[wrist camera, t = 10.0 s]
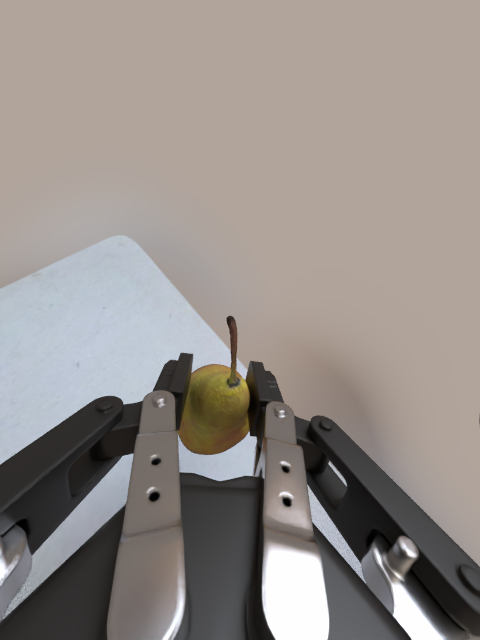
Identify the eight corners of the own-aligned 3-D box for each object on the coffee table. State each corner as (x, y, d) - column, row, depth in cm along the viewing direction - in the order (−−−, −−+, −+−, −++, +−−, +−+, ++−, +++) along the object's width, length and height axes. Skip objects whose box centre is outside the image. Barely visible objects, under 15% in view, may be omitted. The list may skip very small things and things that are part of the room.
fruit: (158, 420, 17) (93, 420, 6) (206, 360, 19) (219, 285, 9) (217, 467, 16) (259, 559, 6) (259, 399, 19) (343, 373, 8)
